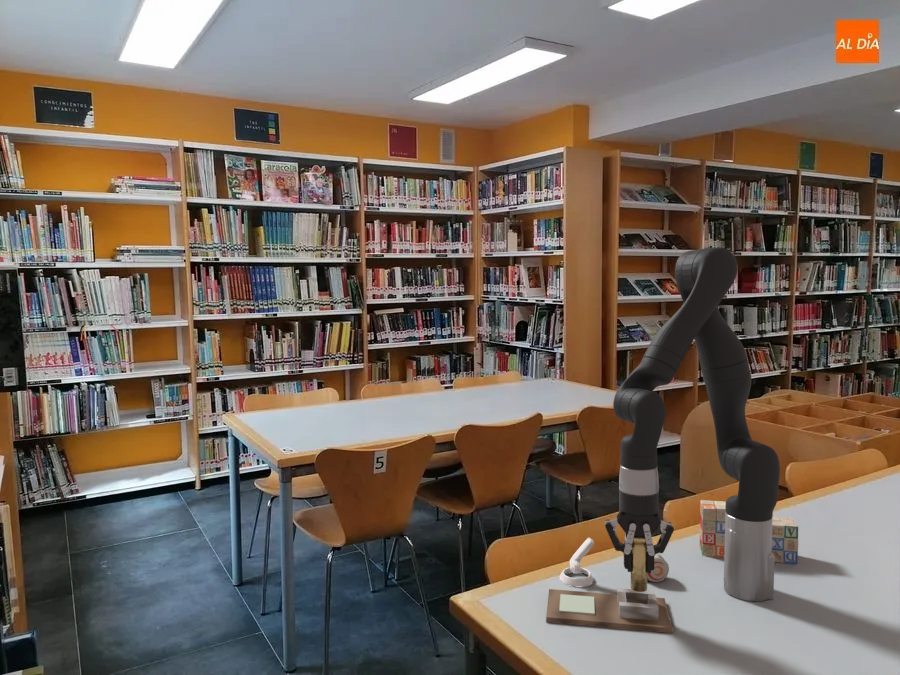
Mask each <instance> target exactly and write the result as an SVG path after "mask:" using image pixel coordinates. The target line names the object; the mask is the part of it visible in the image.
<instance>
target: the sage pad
mask: <svg viewBox="0 0 900 675" xmlns="http://www.w3.org/2000/svg"><path fill="white" fill-rule="evenodd" d="M559 612H567V613H578V614H590V615H595V608H594V597H591V596H578V595H566V594H560V607H559Z"/></svg>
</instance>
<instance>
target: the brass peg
mask: <svg viewBox="0 0 900 675" xmlns="http://www.w3.org/2000/svg"><path fill="white" fill-rule="evenodd" d="M630 589H632V590H634V591H637V592H644V591H646V590H648V581H647V544H646V539H645V538H642V537H634V538H633V543H632V546H631V572H630Z"/></svg>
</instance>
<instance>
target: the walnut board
mask: <svg viewBox="0 0 900 675" xmlns="http://www.w3.org/2000/svg"><path fill="white" fill-rule="evenodd" d="M560 594H566V595H578V596H591V597H594V608H595V615H590V614H578V613H567V612H559V607H560ZM547 596H548V597H547V606H546V613H545V614H546V616H545V622H547V623H554V624H566V625H567V624H568V625H576V626H577V625H579V626H588V627H598V626H599V628H610V627H611V629H622V630H623V629H624V630H632V631H633V630H634V631H645V632H656V633H657V632H658V633H668V634H673V626H672V622H671V618H670V614H669V610H668V606H667V603H666V602H667V601H666V598H665V597H657V596H656V592H655V590H648V589H647V590H646V591H644V592H637V591H634V590H632V589H631V588H623V587H622V588H621V587H620V588H619V587H617V593H616V594H615V593H614V594H613V593H607V592H606V593H603V592H591V591H579V590H568V589H567V590H565V589H553V588H549V589H548V595H547Z"/></svg>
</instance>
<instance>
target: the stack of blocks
mask: <svg viewBox="0 0 900 675" xmlns="http://www.w3.org/2000/svg"><path fill="white" fill-rule="evenodd" d="M699 501H700V502H699V504H700V506H699V507H700V508H699V509H700V510H699V549H700V548H701V549H700V551H701V555H702V556H703V555H707V556H706V557H714V556H715V557H716V558H723V557H724V553H725V506H726V501H723V500H722V501H721V500H707V499H706V500H705V499H701V500H699ZM772 518H773V519H772V553H773V554H774V557H775V560H774V563H784V564H785V563H786V564H795V565H796V564H798V557H799V552H798V551H799V526H798V524H797V523H796V521H795V520H794V519H793V517H786V516H775V515H773V517H772ZM715 557H714V558H715Z"/></svg>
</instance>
